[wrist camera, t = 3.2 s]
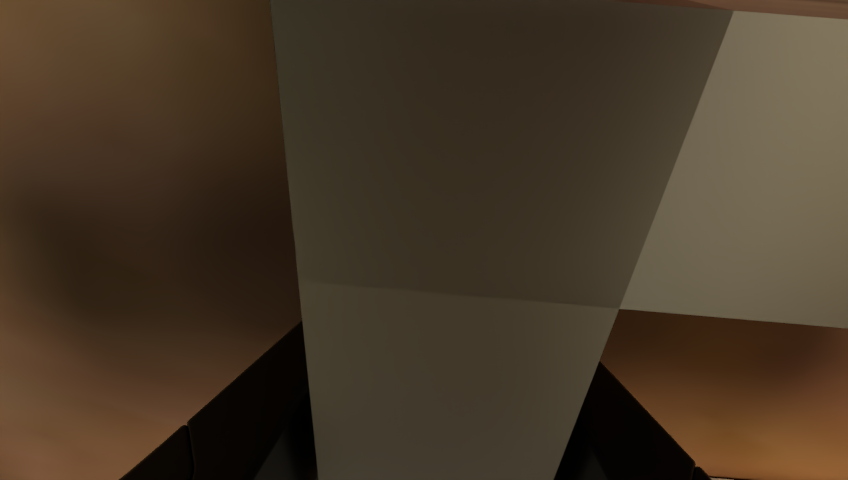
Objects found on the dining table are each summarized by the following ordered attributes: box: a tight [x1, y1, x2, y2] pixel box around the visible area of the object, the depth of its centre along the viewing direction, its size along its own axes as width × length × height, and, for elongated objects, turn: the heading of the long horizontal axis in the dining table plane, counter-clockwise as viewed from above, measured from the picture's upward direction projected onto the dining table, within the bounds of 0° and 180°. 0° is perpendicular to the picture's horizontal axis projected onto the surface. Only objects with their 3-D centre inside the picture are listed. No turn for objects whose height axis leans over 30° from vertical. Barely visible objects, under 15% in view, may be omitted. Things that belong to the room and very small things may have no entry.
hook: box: [270, 0, 848, 480], centre depth 8 cm, size 12×14×4 cm
